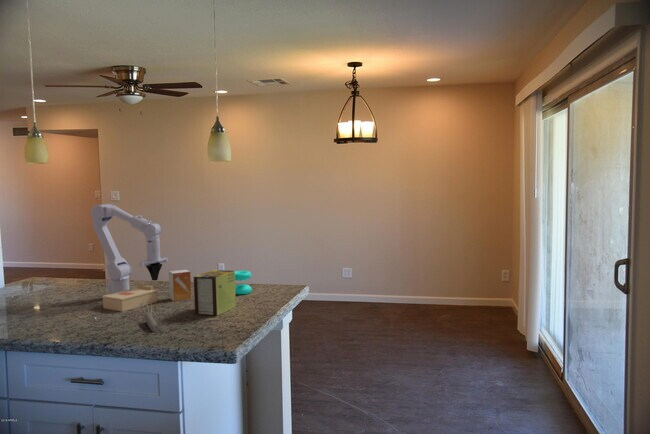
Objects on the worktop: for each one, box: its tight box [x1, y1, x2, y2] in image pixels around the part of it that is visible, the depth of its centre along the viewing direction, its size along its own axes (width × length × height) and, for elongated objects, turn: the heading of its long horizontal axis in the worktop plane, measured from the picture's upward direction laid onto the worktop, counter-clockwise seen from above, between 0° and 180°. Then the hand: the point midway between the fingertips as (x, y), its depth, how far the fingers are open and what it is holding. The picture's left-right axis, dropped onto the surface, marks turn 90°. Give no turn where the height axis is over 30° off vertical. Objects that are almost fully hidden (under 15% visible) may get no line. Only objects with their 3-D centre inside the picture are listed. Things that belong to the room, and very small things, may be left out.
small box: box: [168, 269, 192, 302], centre depth 227 cm, size 8×6×13 cm
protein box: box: [193, 269, 237, 317], centre depth 208 cm, size 10×15×16 cm
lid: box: [101, 284, 158, 300], centre depth 217 cm, size 12×18×2 cm
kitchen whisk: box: [134, 299, 159, 333], centre depth 193 cm, size 6×34×6 cm, turn 28°
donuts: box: [234, 270, 253, 296], centre depth 239 cm, size 10×10×10 cm
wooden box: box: [102, 291, 158, 312], centre depth 217 cm, size 12×18×5 cm, turn 150°
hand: (154, 280), depth 229 cm, fingers closed
